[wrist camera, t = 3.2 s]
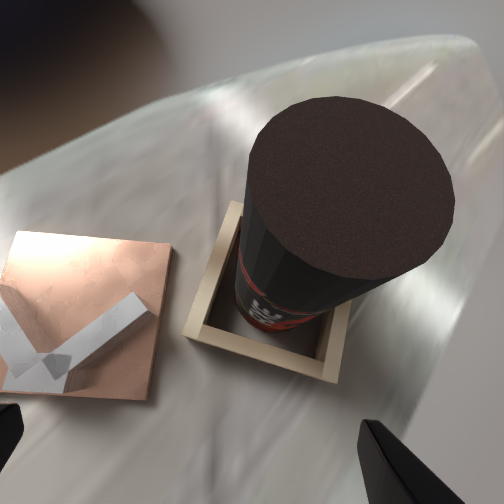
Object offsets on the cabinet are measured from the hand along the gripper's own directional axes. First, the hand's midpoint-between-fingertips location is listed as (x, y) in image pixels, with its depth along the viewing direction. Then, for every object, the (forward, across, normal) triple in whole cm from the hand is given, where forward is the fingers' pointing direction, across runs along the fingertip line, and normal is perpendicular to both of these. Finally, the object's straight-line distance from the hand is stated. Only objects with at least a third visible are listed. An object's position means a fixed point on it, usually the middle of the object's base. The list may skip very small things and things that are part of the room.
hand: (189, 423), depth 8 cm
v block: (+12, +10, +4) cm, 17 cm away
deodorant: (+15, -3, +3) cm, 15 cm away
